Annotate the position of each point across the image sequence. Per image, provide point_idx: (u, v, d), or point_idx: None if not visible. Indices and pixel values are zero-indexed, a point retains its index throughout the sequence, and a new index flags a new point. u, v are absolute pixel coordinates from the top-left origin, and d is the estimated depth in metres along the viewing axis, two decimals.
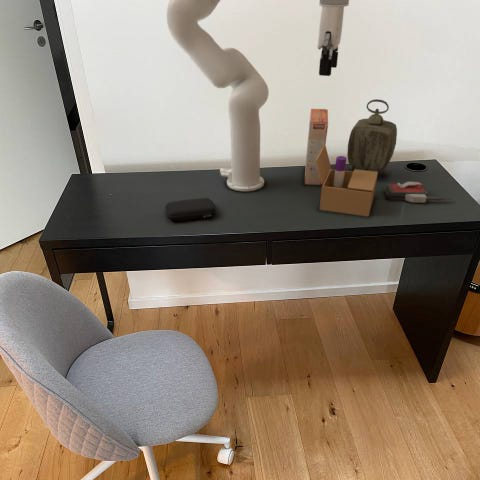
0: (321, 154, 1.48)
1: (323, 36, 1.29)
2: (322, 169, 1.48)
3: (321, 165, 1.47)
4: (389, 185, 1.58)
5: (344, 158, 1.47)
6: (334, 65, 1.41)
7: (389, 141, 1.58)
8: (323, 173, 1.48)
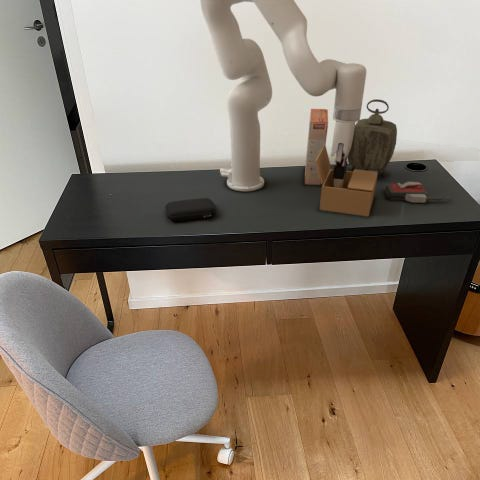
0: (321, 154, 1.48)
1: (336, 146, 1.40)
2: (322, 169, 1.48)
3: (321, 165, 1.47)
4: (389, 185, 1.58)
5: None
6: (344, 172, 1.51)
7: (389, 141, 1.58)
8: (323, 173, 1.48)
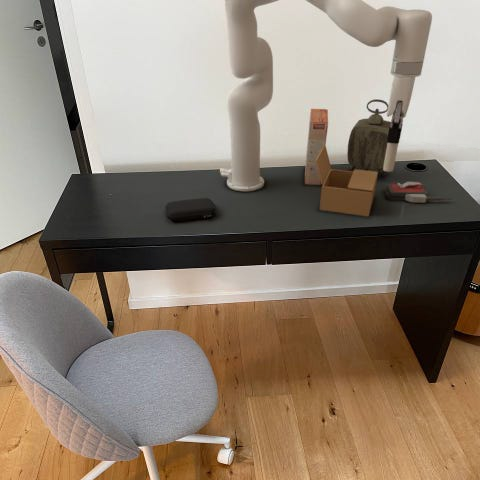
0: (321, 154, 1.48)
1: (394, 105, 1.27)
2: (322, 169, 1.48)
3: (321, 165, 1.47)
4: (389, 185, 1.58)
5: None
6: None
7: None
8: (323, 173, 1.48)
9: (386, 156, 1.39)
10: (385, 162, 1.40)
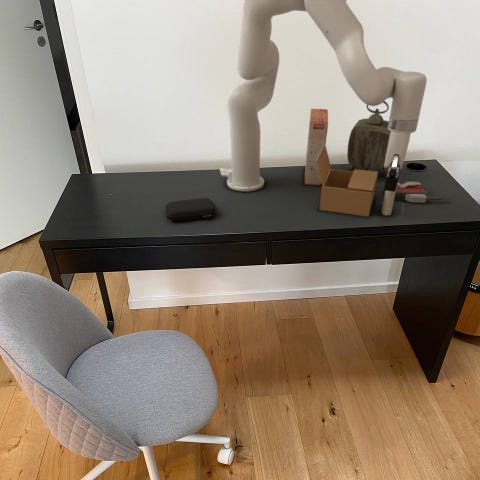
0: (321, 154, 1.48)
1: (391, 158, 1.35)
2: (322, 169, 1.48)
3: (321, 165, 1.47)
4: None
5: None
6: None
7: None
8: (323, 173, 1.48)
9: (384, 202, 1.47)
10: (383, 207, 1.48)
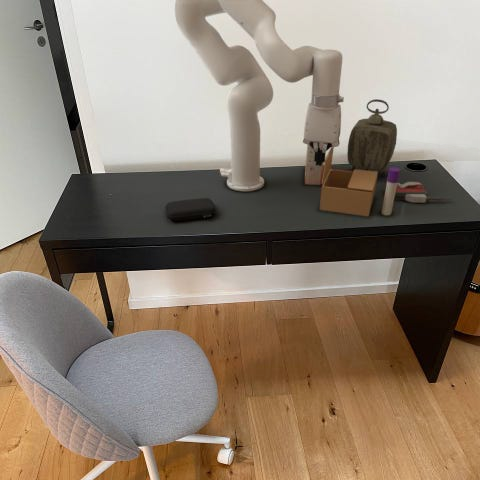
0: (329, 154, 1.47)
1: None
2: (326, 169, 1.47)
3: (327, 165, 1.47)
4: None
5: (398, 169, 1.41)
6: (318, 163, 1.49)
7: (389, 141, 1.58)
8: (325, 173, 1.48)
9: (384, 202, 1.47)
10: (383, 207, 1.48)
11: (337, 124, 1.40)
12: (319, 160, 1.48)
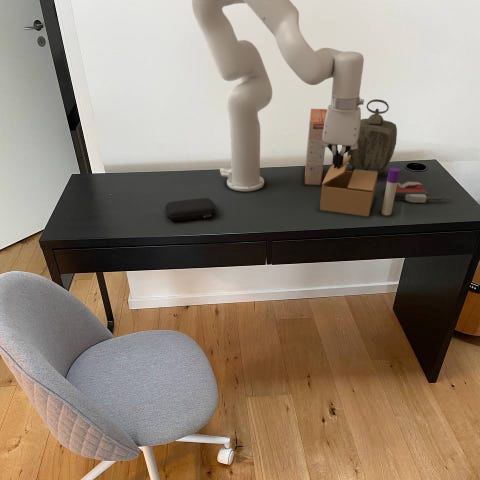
0: None
1: None
2: None
3: None
4: None
5: (398, 169, 1.41)
6: (337, 165, 1.48)
7: (389, 141, 1.58)
8: None
9: (384, 202, 1.47)
10: (383, 207, 1.48)
11: (357, 127, 1.38)
12: (337, 163, 1.47)
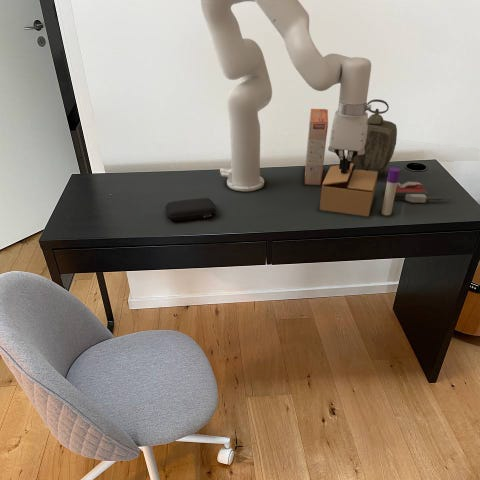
0: None
1: None
2: None
3: None
4: None
5: (398, 169, 1.41)
6: (344, 171, 1.48)
7: (389, 141, 1.58)
8: None
9: (384, 202, 1.47)
10: (383, 207, 1.48)
11: (364, 132, 1.39)
12: (344, 168, 1.47)
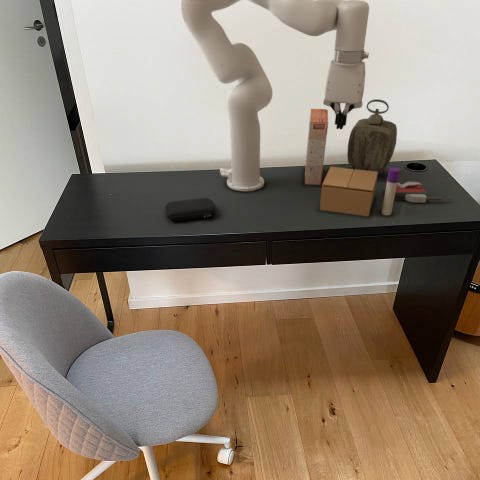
0: None
1: None
2: None
3: None
4: None
5: (398, 169, 1.41)
6: (339, 126, 1.41)
7: (389, 141, 1.58)
8: None
9: (384, 202, 1.47)
10: (383, 207, 1.48)
11: (361, 82, 1.31)
12: (340, 123, 1.40)
